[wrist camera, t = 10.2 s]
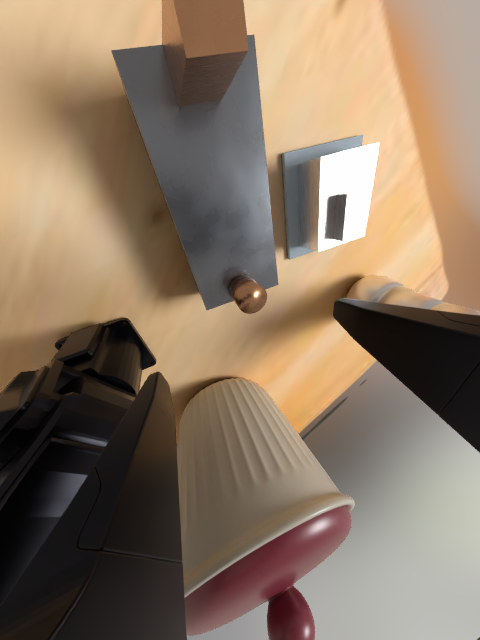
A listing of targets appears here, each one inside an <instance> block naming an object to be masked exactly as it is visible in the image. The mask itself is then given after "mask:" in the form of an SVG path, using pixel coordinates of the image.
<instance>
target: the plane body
mask: <svg viewBox="0 0 480 640" xmlns="http://www.w3.org/2000/svg"><path fill="white" fill-rule="evenodd" d="M112 54H113V57H114V60H115V63H116V66H117V69H118V72H119V75H120V78H121V81H122V84H123V87H124V90H125V93H126V96H127V98H128V101H129V104H130V107H131V109H132V112H133V115H134V117H135V120H136V123H137V125H138V128H139V131H140V134H141V136H142V139H143V142H144V144H145V147H146V150H147V152H148V155H149V158H150V161H151V163H152V166H153V169H154V171H155V174H156V177H157V179H158V182H159V185H160V188H161V190H162V193H163V196H164V198H165V201H166V204H167V206H168V209H169V212H170V215H171V217H172V220H173V223H174V225H175V228H176V231H177V233H178V236H179V239H180V242H181V244H182V247H183V250H184V252H185V255H186V258H187V260H188V263H189V266H190V269H191V271H192V274H193V277H194V279H195V282H196V285H197V287H198V290H199V293H200V295H201V298H202V300H203V303H204V305H205V307H206V310H209V309H212V308H215V307H218V306H221V305H223V304H226V303H229V302H232V301H235V303H236V304H237V306H238V307H239V308H240V310H241V311H243V312H244V313H248V314H252V313H255V312H257V311H259V310H260V309H262V307H263V306H264V305H265V303H266V300H267V293H266V291H265V289H268V288H271V287H273V286H276V285H278V277H277V267H276V257H275V246H274V236H273V225H272V215H271V205H270V194H269V184H268V173H267V163H266V152H265V142H264V132H263V121H262V111H261V100H260V90H259V80H258V69H257V59H256V48H255V38H254V35H247V31H246V22H245V13H244V4H243V0H162V45H157V46H148V47H139V48H130V49H121V50H112Z"/></svg>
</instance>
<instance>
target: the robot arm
mask: <svg viewBox="0 0 480 640" xmlns="http://www.w3.org/2000/svg"><path fill="white" fill-rule="evenodd" d="M333 316H334V318H335V319H336V320H337V321H338V322H339V324H340V325H341V326H342V327H343V328H344V329H345V330H346V331H347V332H348V333H349V335H350V336H351V337H352V338H353V339H354V340H355V341H356V342H357V343H359V344H360V345H361V346H362V347H363V348H364V349H365V350H366V351H367V352H369V353H370V354H371V355H372V356H373V357H374V358H375V359H376V360H377V361H379V362H380V363H381V364H382V365H383V366H384V367H385V368H386V369H387V370H389V371H390V372H391V373H392V374H393V375H394V376H395V377H396V378H397V379H399V380H400V381H401V382H402V383H403V384H404V385H405V386H406V387H408V388H409V389H410V390H411V391H412V392H413V393H414V394H415V395H416V396H418V397H419V398H420V399H421V400H422V401H423V402H424V403H425V404H426V405H428V406H429V407H430V408H431V409H432V410H433V411H434V412H435V413H436V414H438V415H439V416H440V417H441V418H442V419H443V420H444V421H445V422H446V423H447V424H449V425H450V426H451V427H452V428H453V429H454V430H455V431H457V433H459V434H460V435H461V436H462V437H463V438H464V439H465V440H466V441H467V442H469V443H470V444H471V445H472V446H473V447H474V448H475V449H477V451H479V452H480V315H472V314H463V313H454V312H446V311H439V310H436V311H435V310H431V309H423V308H415V307H408V306H400V305H393V304H385V303H377V302H370V301H362V300H355V299H347V298H341V299H339V300H336V301H335V303H334V311H333ZM122 322H126V323H127V324H125V325H124V324H122ZM61 344H63V345H61ZM55 347H56V348H57V349H58V350H59V351H58V352H57V354H56V355H55V356H54V358H53V359H52V361H51V363H49V364H48V365H47V366H44V367H42V368H41V369H40V370H36V371H28V372H20V373H19V374H18V375H17V376H16V377H15V378H14V379H13V380H12V381H11V382H10V383H9V384H8V385H7V387H6V388H5V389H4V390H3V391H2V392H1V394H0V640H187V635H186V616H185V597H184V578H183V563H182V542H181V522H180V503H179V484H178V465H177V445H176V426H175V416H174V410H173V405H172V399H171V393H170V388H169V384H168V382H167V381H166V379H165V378H164V377H163V375H162V374H161V373H160V372H156V373H153V374H151V375H149V376H148V378H147V380H146V381H145V383H144V385H143V386H142V388H141V389H140V382H141V374H142V370H144V369H146V368H149V367H151V366H154V365H155V364H156V358H155V357H154V355H153V354H152V353H151V351H150V350H149V348H148V347H147V345H146V344H145V342H144V341H143V339H142V338H141V336H140V335H139V333H138V332H137V330H136V329H135V327H134V326H133V324H132V323H131V321H130V320H129V319H127V318H121V319H118V320H115V321H112V322H109V323H106V324H100V323H99V324H96V325H93V326H90V327H87V328H84V329H81V330H78V331H76V332H73V333H71V335H70V336H68V337H65V338H62V339H59V340H58V341H57V342H56V344H55ZM150 361H153V362H150ZM139 389H140V391H139ZM477 640H480V637H479V638H478V639H477Z"/></svg>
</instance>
